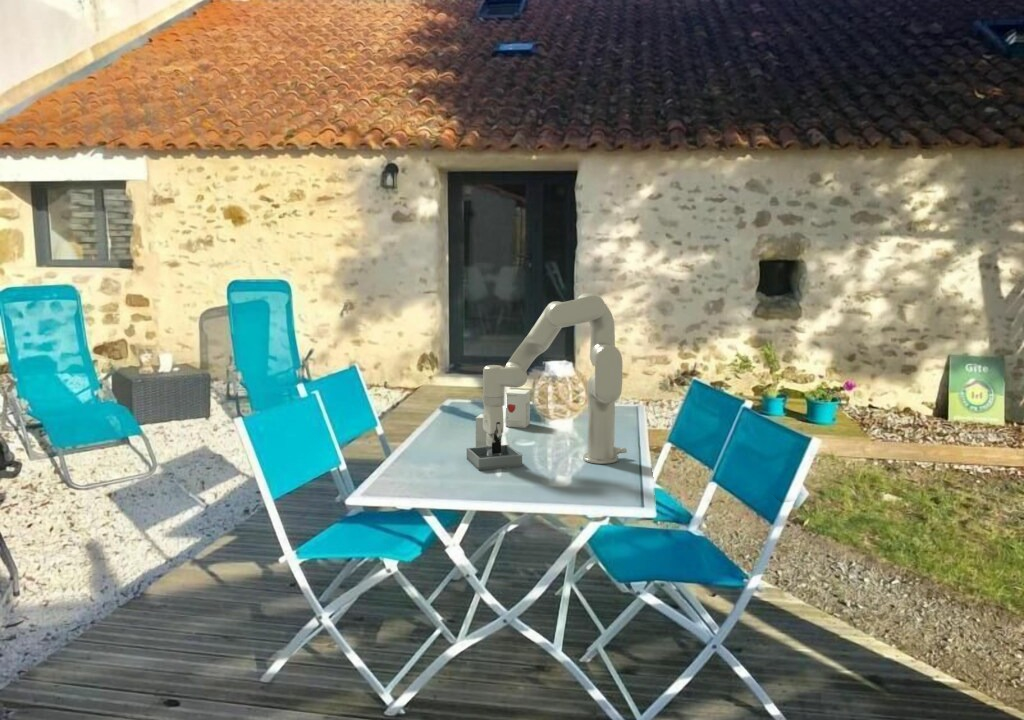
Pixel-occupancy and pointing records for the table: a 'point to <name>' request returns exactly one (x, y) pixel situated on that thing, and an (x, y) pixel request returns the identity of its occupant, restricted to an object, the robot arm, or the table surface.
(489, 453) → the tin can
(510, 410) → the supplement box
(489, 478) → the table surface
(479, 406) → the table surface
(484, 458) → the tray
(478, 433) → the supplement box
